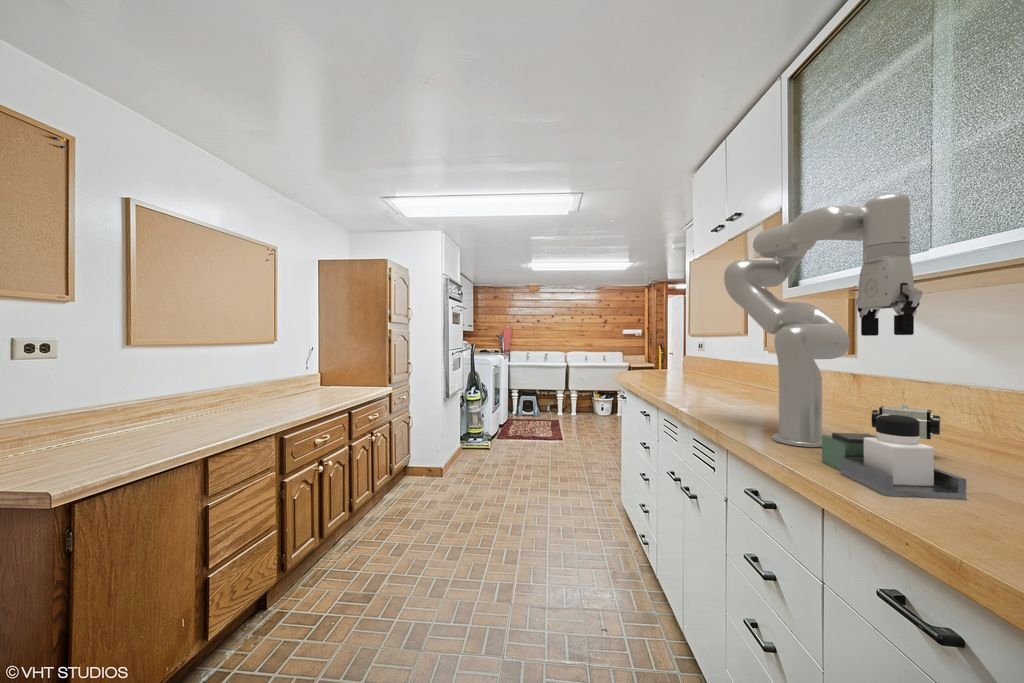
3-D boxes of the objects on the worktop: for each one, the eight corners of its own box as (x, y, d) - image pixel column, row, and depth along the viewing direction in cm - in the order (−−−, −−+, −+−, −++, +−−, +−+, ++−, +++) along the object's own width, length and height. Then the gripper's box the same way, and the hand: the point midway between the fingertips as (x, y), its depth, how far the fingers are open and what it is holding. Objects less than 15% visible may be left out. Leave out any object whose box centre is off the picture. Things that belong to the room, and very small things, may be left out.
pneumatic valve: (874, 448, 106) (874, 400, 106) (940, 457, 98) (940, 405, 98) (870, 452, 102) (870, 402, 102) (939, 462, 94) (939, 408, 94)
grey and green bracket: (816, 461, 94) (816, 431, 94) (877, 464, 92) (877, 433, 92) (885, 495, 73) (885, 456, 73) (966, 499, 72) (966, 459, 72)
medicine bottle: (935, 486, 75) (935, 419, 75) (892, 485, 76) (892, 419, 76) (901, 474, 82) (901, 412, 82) (862, 473, 83) (862, 412, 83)
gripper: (840, 263, 99) (840, 335, 99) (897, 246, 82) (897, 334, 82) (876, 262, 98) (876, 335, 98) (941, 245, 81) (941, 334, 81)
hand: (885, 335), depth 90 cm, fingers open, 9 cm apart
